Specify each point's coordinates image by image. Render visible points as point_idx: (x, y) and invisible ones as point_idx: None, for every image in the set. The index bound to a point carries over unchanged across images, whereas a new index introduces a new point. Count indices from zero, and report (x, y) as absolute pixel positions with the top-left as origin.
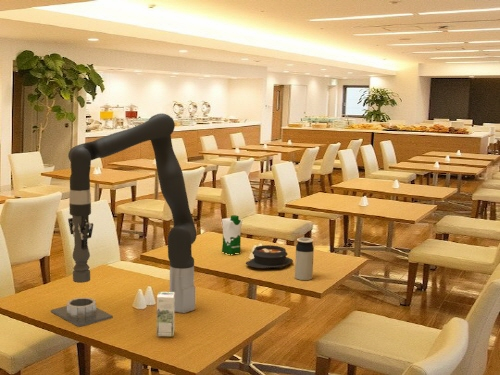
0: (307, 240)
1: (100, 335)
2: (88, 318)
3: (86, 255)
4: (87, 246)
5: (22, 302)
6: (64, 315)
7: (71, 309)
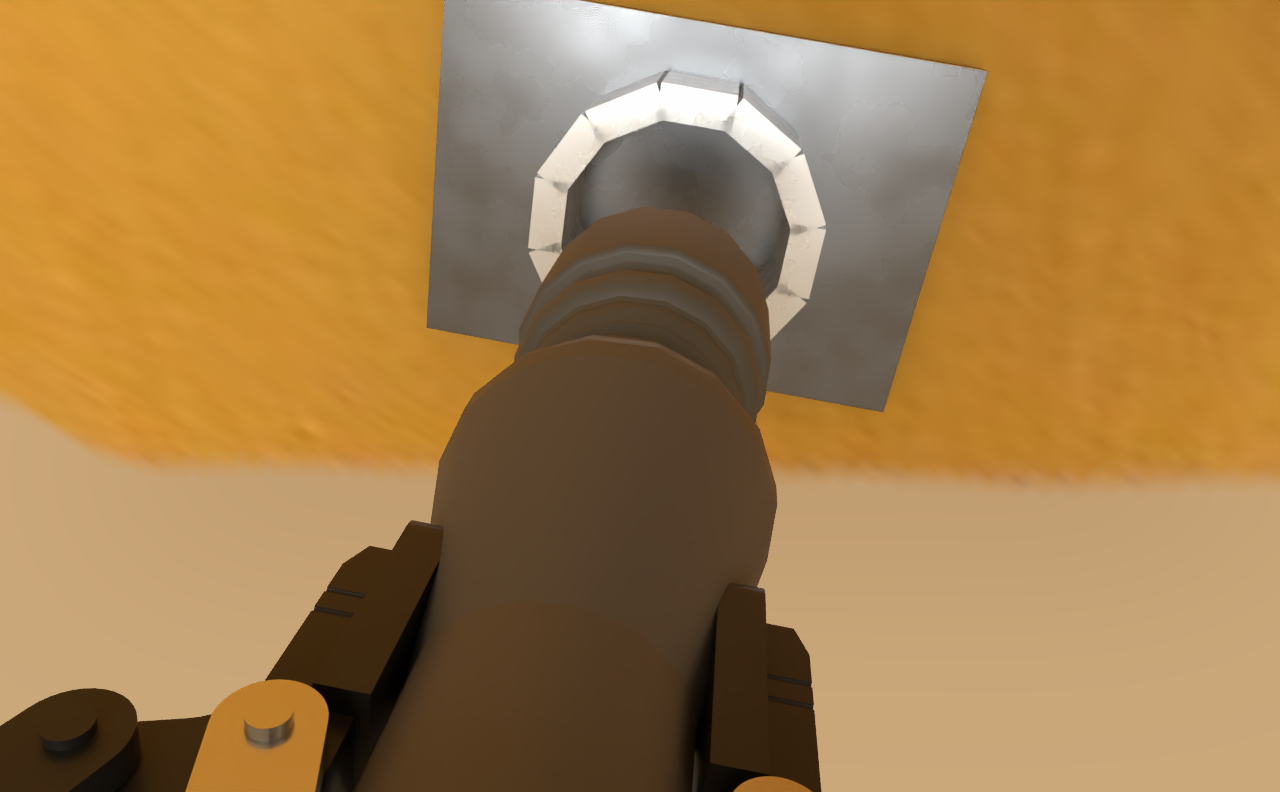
0: None
1: (1155, 418)
2: (842, 270)
3: (772, 529)
4: (806, 655)
5: (78, 317)
6: None
7: None
